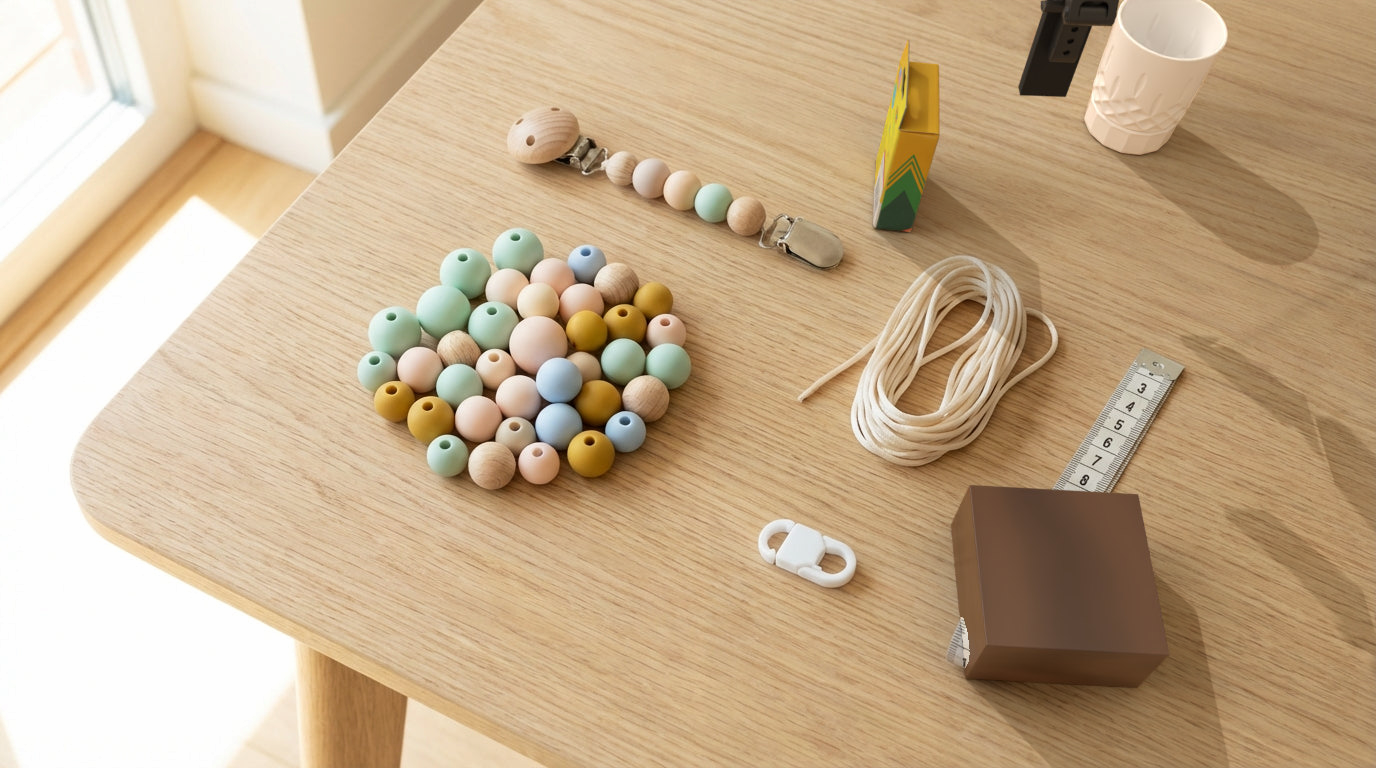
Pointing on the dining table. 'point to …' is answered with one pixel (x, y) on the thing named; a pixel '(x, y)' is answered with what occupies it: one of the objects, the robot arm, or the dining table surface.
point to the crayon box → (906, 145)
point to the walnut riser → (1056, 587)
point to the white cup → (1152, 71)
